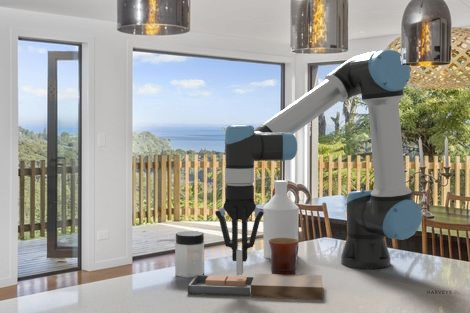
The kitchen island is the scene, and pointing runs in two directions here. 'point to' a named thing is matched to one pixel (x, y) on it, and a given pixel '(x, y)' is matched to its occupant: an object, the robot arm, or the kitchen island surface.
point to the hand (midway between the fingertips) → (239, 273)
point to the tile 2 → (237, 281)
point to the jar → (189, 254)
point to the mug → (284, 255)
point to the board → (287, 286)
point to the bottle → (279, 217)
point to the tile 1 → (216, 280)
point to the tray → (217, 287)
